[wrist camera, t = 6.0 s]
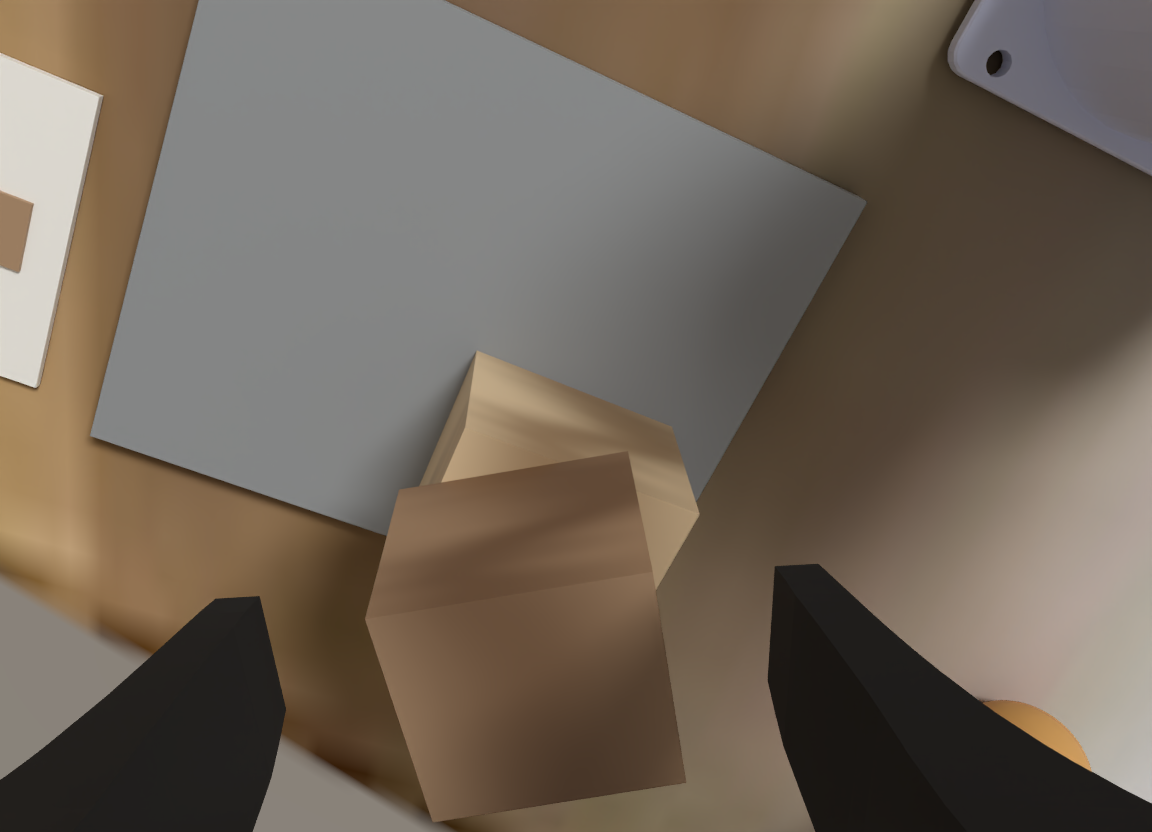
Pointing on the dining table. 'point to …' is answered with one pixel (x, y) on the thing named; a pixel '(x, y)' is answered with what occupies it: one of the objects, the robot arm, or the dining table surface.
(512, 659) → the walnut block
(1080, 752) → the figurine
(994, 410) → the dining table surface
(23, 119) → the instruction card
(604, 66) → the dining table surface
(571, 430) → the oak block
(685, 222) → the mat
